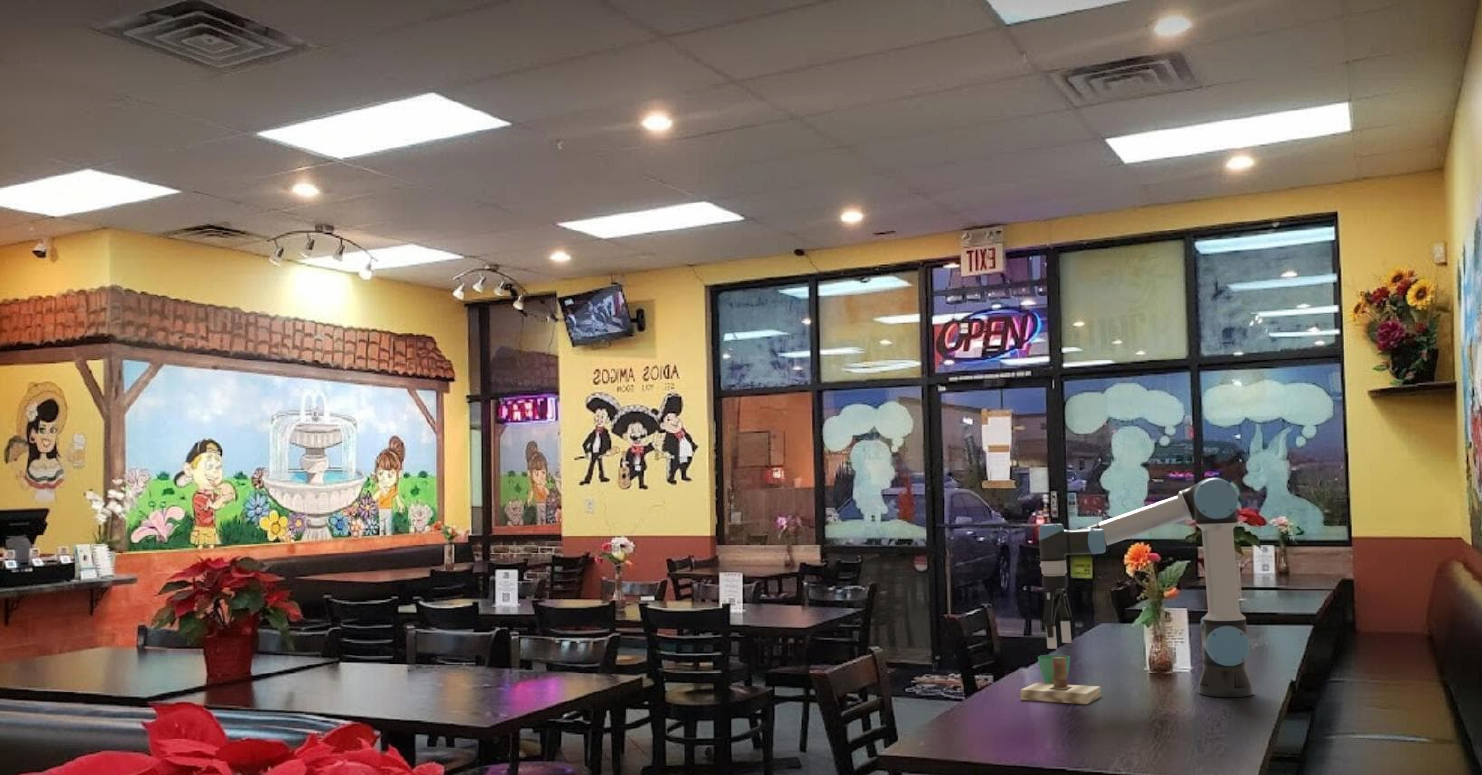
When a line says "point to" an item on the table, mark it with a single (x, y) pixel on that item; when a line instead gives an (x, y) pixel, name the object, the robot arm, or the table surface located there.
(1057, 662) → the peg
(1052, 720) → the table surface
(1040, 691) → the board
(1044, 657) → the mug
